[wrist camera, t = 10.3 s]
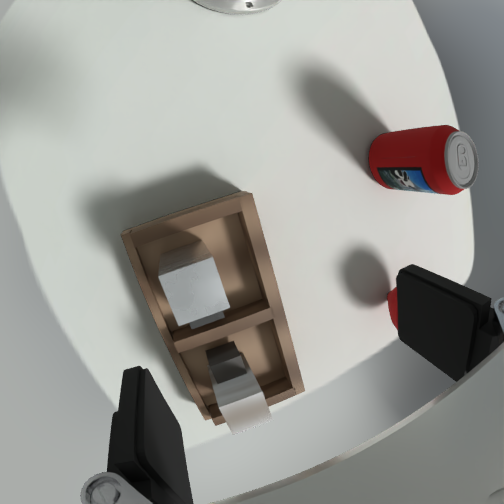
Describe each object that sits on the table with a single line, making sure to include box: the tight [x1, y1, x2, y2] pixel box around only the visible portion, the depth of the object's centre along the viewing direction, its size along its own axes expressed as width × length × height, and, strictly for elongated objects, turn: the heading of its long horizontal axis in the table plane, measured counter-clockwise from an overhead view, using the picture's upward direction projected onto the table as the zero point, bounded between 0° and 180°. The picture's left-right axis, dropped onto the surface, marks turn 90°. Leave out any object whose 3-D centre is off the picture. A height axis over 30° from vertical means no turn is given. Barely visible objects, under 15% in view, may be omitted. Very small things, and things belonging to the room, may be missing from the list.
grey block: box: [158, 240, 230, 329], centre depth 25 cm, size 6×4×7 cm, turn 16°
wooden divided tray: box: [121, 191, 305, 435], centre depth 28 cm, size 22×12×9 cm, turn 16°
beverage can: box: [369, 125, 478, 195], centre depth 28 cm, size 7×7×12 cm
